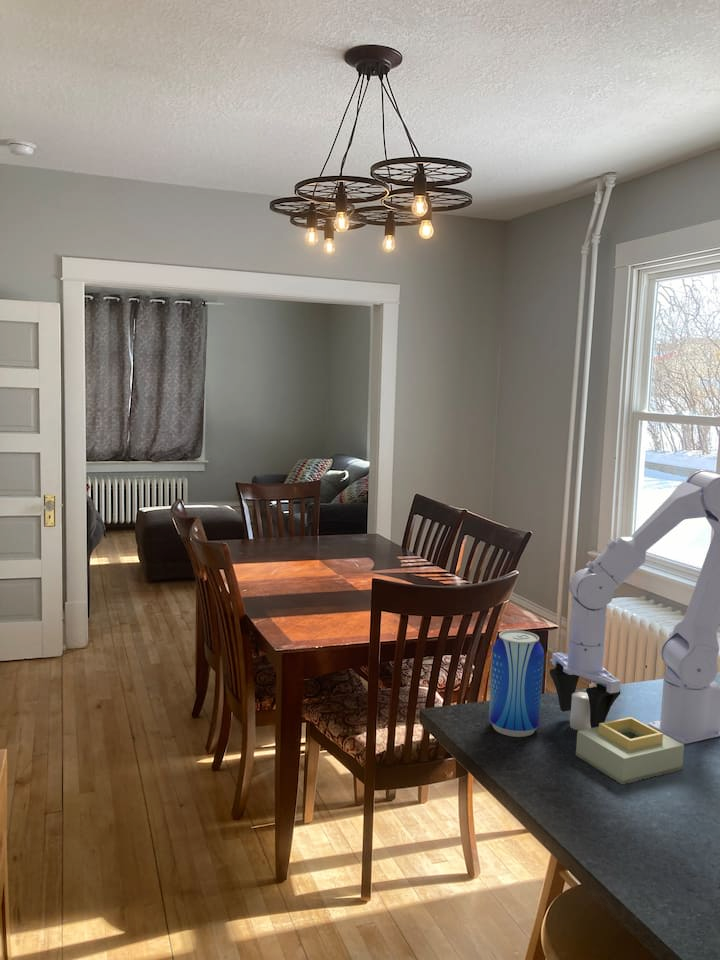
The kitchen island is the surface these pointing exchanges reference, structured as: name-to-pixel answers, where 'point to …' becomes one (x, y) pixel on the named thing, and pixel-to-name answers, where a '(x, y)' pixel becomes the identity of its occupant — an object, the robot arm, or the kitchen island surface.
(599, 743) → the square stacking base
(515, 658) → the beer can
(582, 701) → the pellet
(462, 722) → the kitchen island surface
